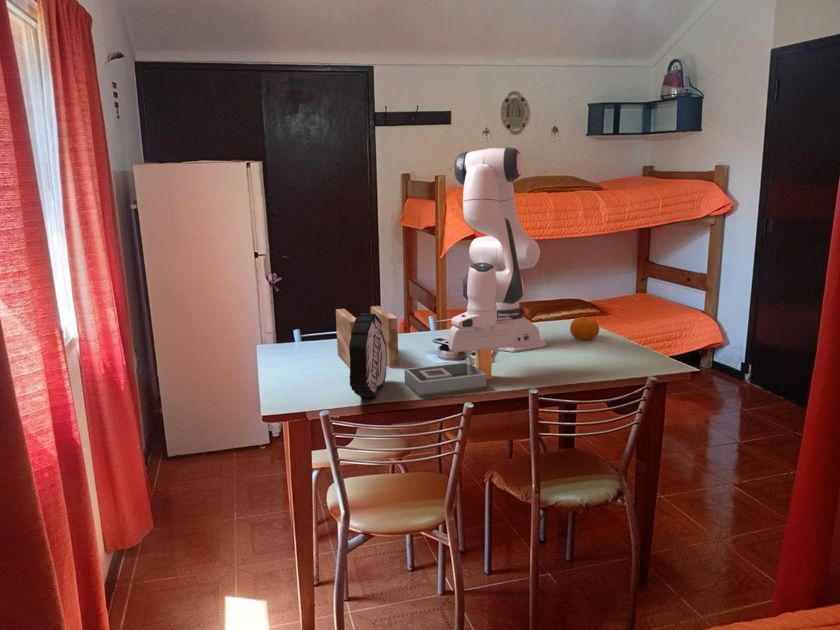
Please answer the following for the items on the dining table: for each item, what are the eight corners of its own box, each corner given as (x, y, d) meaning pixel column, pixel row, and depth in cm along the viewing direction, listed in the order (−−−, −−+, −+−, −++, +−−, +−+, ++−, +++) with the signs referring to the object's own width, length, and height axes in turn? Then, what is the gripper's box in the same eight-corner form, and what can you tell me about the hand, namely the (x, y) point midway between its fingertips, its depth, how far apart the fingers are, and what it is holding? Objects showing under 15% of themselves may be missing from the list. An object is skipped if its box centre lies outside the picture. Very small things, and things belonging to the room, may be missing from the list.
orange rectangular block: (486, 375, 205) (486, 343, 203) (491, 378, 201) (491, 346, 199) (475, 376, 203) (475, 344, 201) (480, 379, 200) (480, 347, 198)
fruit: (569, 341, 243) (570, 320, 242) (569, 335, 253) (570, 314, 252) (599, 343, 241) (600, 321, 239) (598, 336, 251) (599, 315, 249)
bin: (467, 376, 204) (467, 361, 203) (486, 389, 191) (486, 374, 190) (404, 383, 198) (404, 369, 197) (420, 398, 185) (419, 382, 184)
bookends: (380, 350, 236) (378, 305, 233) (398, 366, 215) (397, 318, 212) (337, 354, 231) (335, 309, 228) (352, 371, 211) (350, 322, 207)
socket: (442, 379, 198) (442, 368, 197) (451, 386, 191) (451, 374, 190) (418, 382, 195) (418, 370, 195) (427, 389, 189) (427, 377, 188)
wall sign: (384, 404, 197) (362, 387, 169) (370, 403, 198) (345, 387, 169) (388, 331, 203) (368, 303, 175) (375, 331, 204) (352, 303, 175)
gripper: (509, 314, 205) (508, 357, 207) (446, 318, 198) (446, 364, 201) (518, 317, 199) (517, 362, 201) (453, 322, 192) (454, 369, 195)
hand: (481, 363), depth 201 cm, fingers open, 5 cm apart
